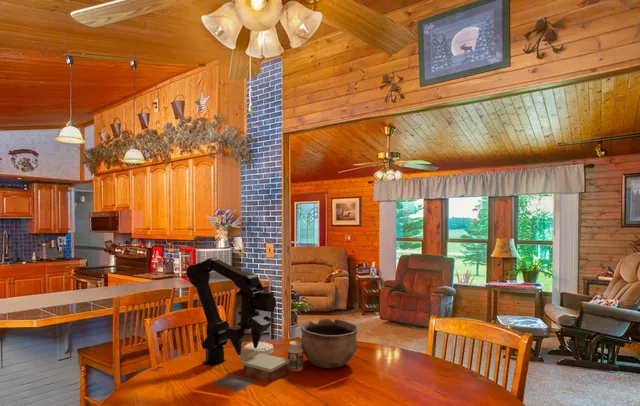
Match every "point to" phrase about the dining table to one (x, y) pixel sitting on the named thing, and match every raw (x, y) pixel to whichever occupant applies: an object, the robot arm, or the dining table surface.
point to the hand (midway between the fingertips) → (247, 351)
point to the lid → (262, 360)
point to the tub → (265, 373)
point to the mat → (234, 382)
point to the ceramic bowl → (329, 342)
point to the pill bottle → (295, 356)
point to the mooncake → (260, 348)
